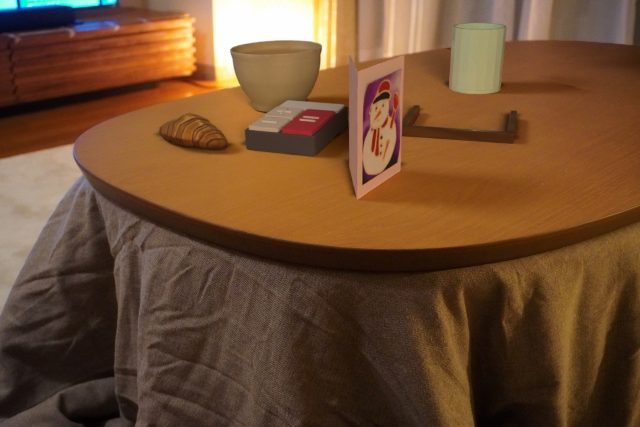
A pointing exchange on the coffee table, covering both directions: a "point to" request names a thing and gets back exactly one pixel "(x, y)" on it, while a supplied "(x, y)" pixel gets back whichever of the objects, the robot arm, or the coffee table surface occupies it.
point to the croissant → (193, 133)
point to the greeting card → (375, 123)
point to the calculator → (297, 128)
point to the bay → (457, 130)
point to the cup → (477, 57)
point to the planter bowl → (276, 71)
